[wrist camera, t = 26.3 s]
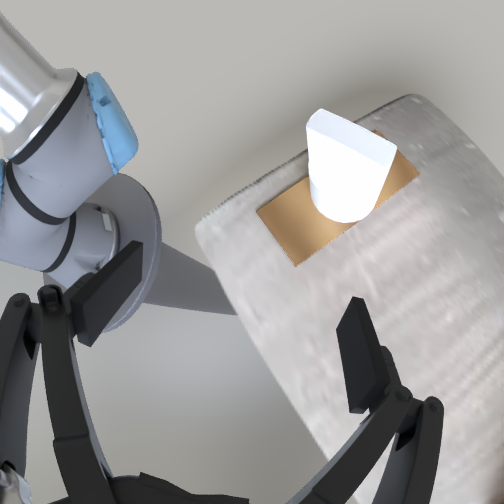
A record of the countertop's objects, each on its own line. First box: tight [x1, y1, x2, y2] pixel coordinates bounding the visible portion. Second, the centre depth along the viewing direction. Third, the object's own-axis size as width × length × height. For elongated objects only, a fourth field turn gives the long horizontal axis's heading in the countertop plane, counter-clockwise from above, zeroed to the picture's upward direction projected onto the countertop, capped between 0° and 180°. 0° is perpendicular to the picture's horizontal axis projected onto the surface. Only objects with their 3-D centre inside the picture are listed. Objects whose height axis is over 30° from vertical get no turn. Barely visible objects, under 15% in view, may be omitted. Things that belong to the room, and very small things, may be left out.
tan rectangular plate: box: [256, 131, 420, 267], centre depth 35 cm, size 22×9×1 cm, turn 123°
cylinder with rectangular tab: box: [306, 109, 397, 223], centre depth 29 cm, size 9×9×12 cm
